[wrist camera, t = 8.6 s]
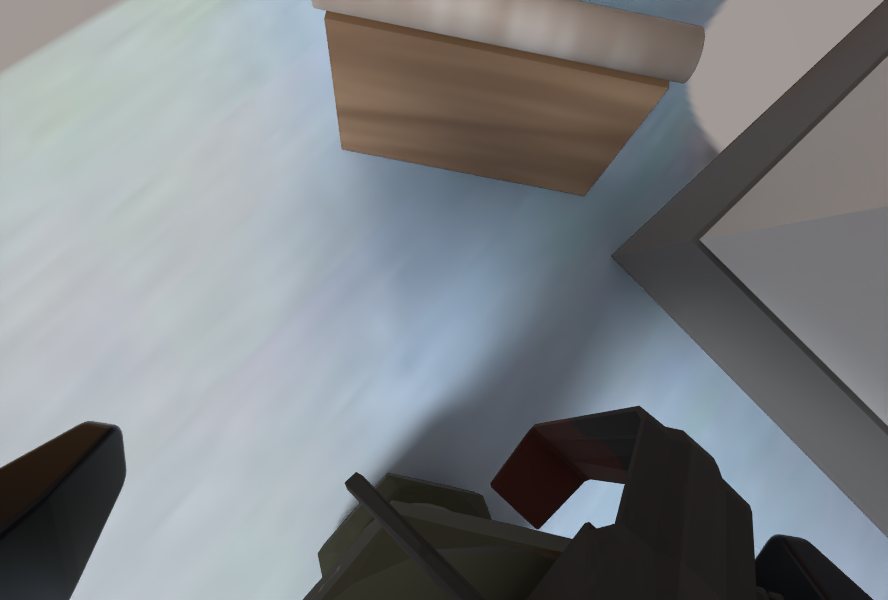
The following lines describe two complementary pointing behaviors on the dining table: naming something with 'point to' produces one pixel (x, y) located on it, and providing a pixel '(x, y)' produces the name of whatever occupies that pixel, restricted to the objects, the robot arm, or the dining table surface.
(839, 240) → the alarm clock
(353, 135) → the wooden panel
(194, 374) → the dining table surface
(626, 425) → the grenade
